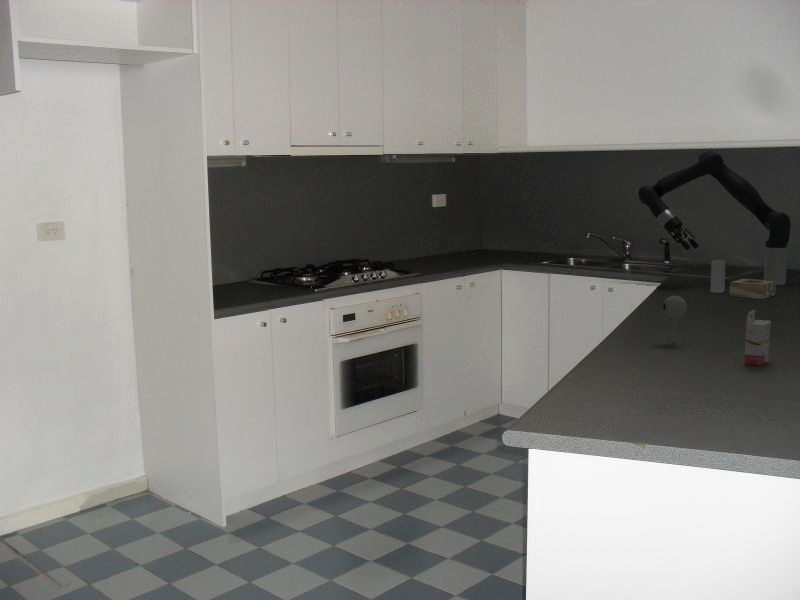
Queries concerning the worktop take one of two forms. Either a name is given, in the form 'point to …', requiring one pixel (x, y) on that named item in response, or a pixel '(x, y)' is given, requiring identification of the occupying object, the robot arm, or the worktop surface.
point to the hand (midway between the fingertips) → (693, 248)
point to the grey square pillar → (718, 276)
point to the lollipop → (674, 309)
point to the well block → (752, 288)
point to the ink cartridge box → (757, 340)
